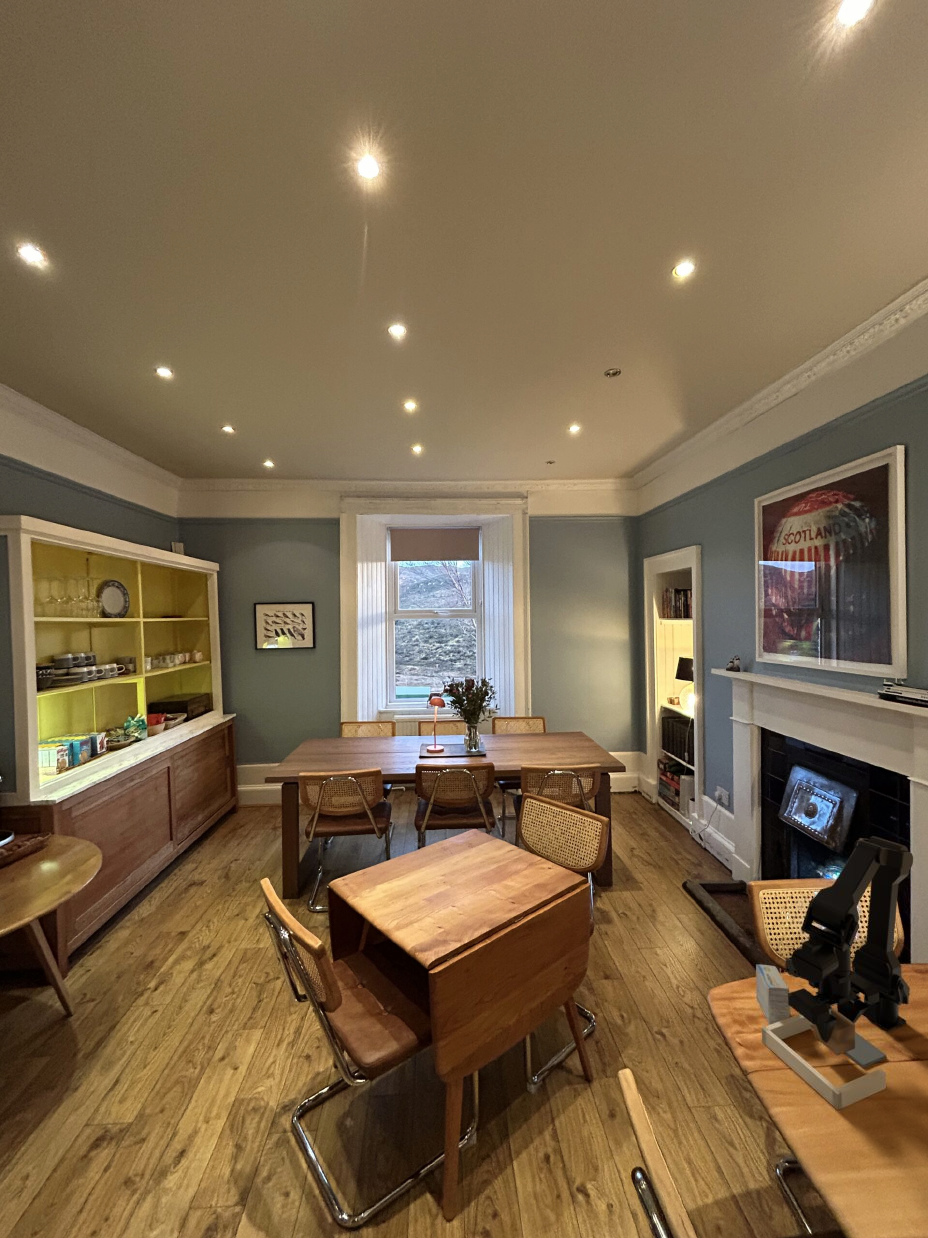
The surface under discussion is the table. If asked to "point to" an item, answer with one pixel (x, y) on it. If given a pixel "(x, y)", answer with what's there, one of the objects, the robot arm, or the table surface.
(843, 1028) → the walnut block
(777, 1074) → the table surface
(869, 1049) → the slate coaster
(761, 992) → the medicine box
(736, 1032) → the table surface
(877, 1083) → the white u-shaped frame
